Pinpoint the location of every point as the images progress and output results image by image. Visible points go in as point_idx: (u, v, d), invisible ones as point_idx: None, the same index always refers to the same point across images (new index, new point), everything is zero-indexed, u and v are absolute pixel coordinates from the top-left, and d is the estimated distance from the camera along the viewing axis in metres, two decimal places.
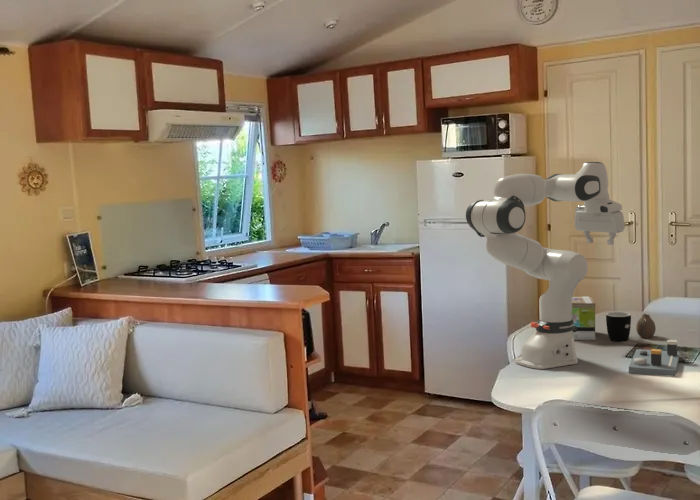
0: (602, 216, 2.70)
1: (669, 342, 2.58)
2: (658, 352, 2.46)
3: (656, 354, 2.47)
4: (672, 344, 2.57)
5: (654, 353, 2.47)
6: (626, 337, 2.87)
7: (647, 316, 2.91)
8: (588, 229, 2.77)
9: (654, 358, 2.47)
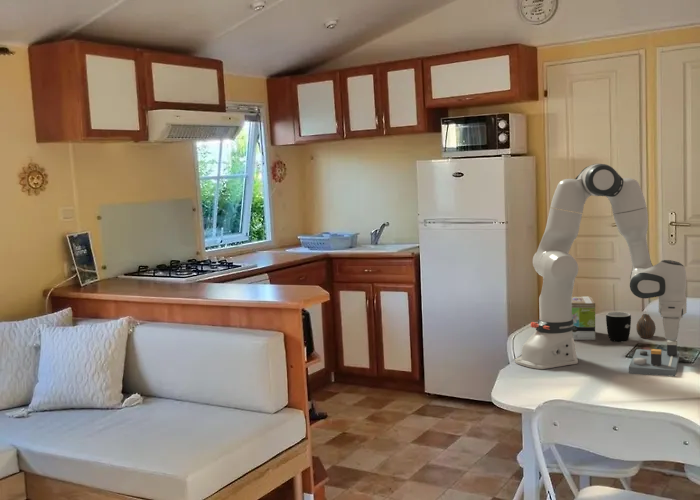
0: None
1: (669, 342, 2.57)
2: (658, 352, 2.46)
3: (656, 354, 2.47)
4: (672, 344, 2.57)
5: (654, 353, 2.47)
6: (626, 337, 2.87)
7: (647, 316, 2.91)
8: None
9: (654, 358, 2.47)
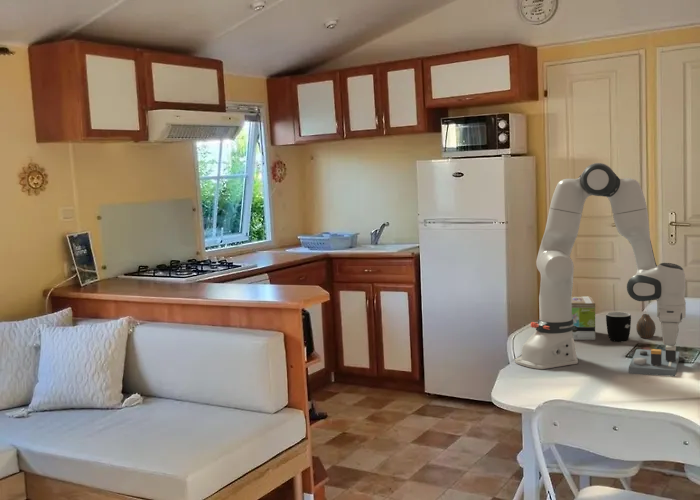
0: None
1: (667, 348, 2.51)
2: (658, 352, 2.46)
3: (656, 354, 2.47)
4: (671, 350, 2.50)
5: (654, 353, 2.47)
6: (626, 337, 2.87)
7: (647, 316, 2.91)
8: None
9: (654, 358, 2.47)
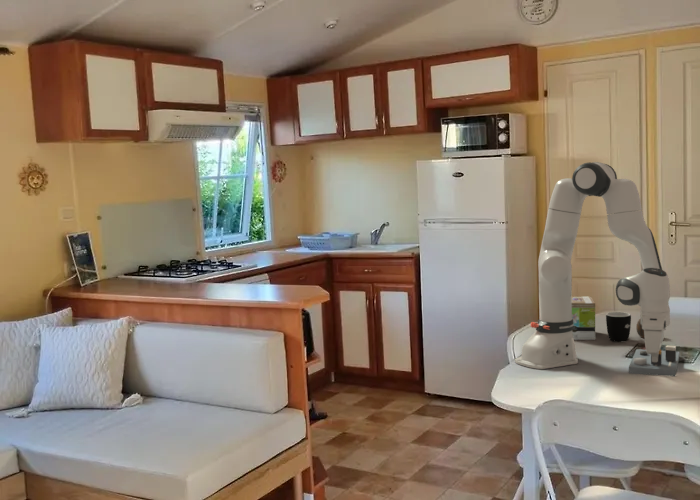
0: None
1: (667, 348, 2.51)
2: None
3: None
4: (670, 350, 2.50)
5: None
6: (626, 337, 2.87)
7: None
8: None
9: None
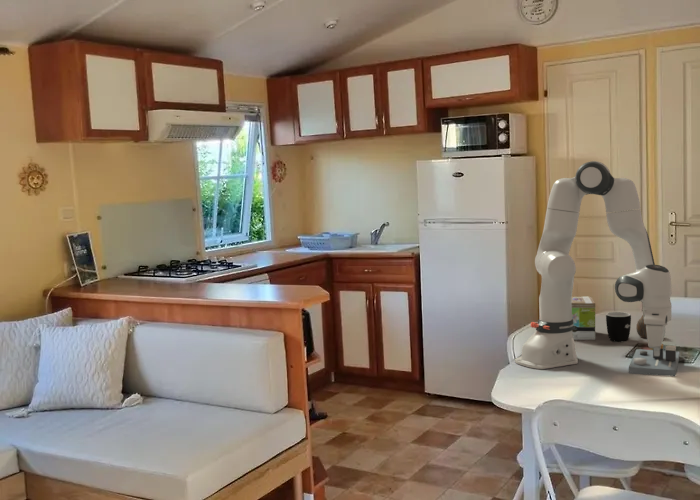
0: None
1: (667, 348, 2.51)
2: None
3: None
4: (670, 350, 2.50)
5: None
6: (626, 337, 2.87)
7: None
8: None
9: None
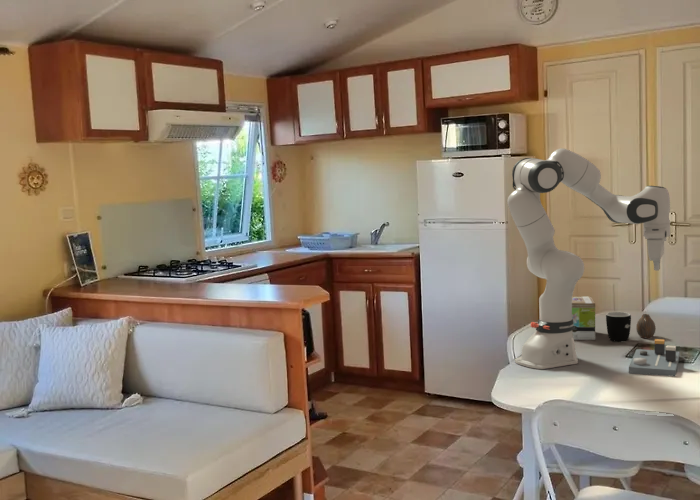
0: None
1: (667, 348, 2.51)
2: (661, 342, 2.59)
3: (659, 344, 2.59)
4: (670, 350, 2.50)
5: (657, 343, 2.59)
6: (626, 337, 2.87)
7: (647, 316, 2.91)
8: None
9: (658, 348, 2.59)
